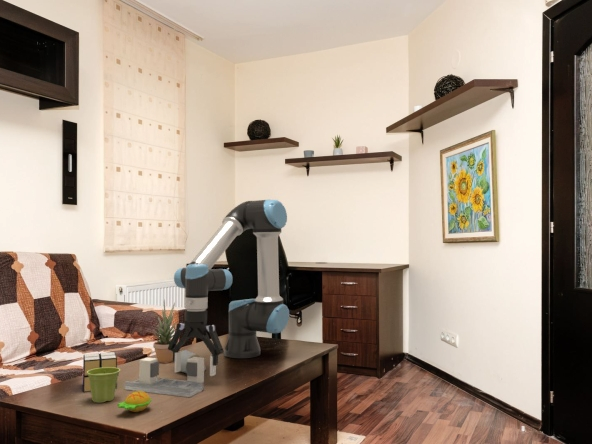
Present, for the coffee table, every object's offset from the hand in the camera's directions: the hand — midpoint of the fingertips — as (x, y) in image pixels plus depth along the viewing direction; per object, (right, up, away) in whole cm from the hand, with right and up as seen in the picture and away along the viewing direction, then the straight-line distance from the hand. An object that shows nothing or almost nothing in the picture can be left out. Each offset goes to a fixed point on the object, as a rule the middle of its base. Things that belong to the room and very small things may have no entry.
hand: (195, 373), depth 170 cm
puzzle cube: (-30, -3, -5) cm, 31 cm away
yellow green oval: (-11, -2, -30) cm, 32 cm away
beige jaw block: (0, -3, 0) cm, 3 cm away
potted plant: (-18, -5, +31) cm, 37 cm away
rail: (-8, -3, -8) cm, 12 cm away
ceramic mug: (-4, -4, +14) cm, 15 cm away
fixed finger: (-14, -2, -6) cm, 15 cm away
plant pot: (-24, -2, -19) cm, 30 cm away
